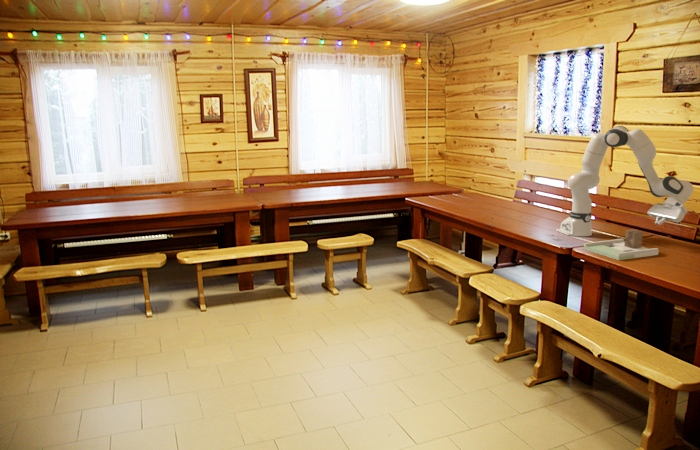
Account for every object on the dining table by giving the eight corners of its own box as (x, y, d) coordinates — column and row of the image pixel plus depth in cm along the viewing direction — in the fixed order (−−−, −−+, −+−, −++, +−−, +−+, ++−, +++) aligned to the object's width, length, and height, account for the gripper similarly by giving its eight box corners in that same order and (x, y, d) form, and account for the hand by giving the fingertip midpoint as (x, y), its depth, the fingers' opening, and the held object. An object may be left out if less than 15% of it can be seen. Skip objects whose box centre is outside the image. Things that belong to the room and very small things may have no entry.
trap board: (583, 249, 326) (584, 243, 325) (621, 244, 336) (622, 238, 335) (618, 260, 303) (618, 253, 303) (658, 254, 313) (658, 248, 313)
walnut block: (624, 246, 324) (625, 230, 322) (632, 245, 326) (634, 229, 324) (633, 248, 319) (634, 232, 317) (641, 247, 321) (642, 231, 319)
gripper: (653, 199, 336) (639, 217, 334) (685, 205, 317) (670, 224, 316) (658, 206, 338) (644, 224, 337) (690, 212, 320) (675, 231, 318)
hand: (657, 224), depth 326 cm, fingers closed
